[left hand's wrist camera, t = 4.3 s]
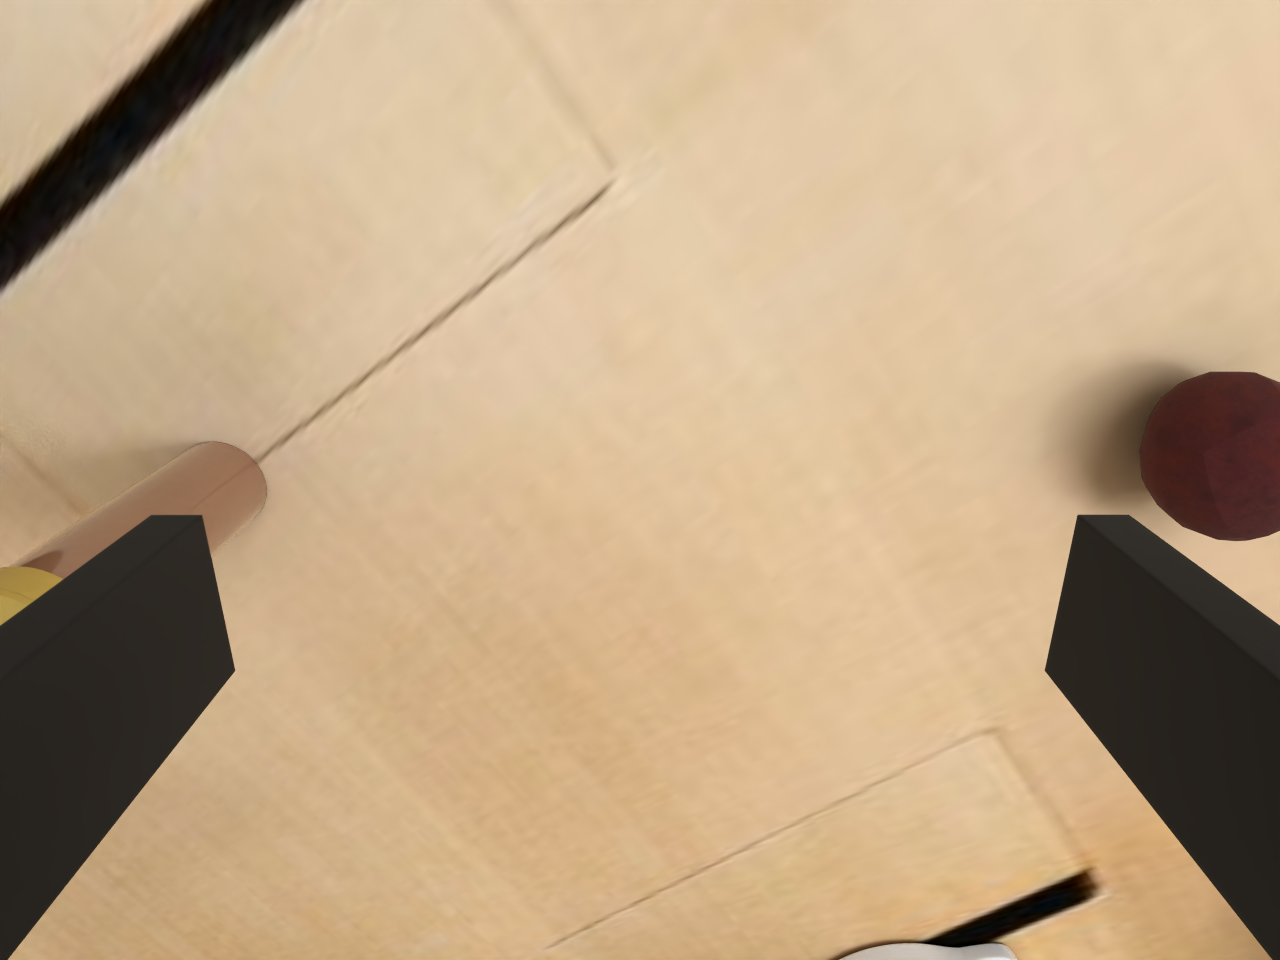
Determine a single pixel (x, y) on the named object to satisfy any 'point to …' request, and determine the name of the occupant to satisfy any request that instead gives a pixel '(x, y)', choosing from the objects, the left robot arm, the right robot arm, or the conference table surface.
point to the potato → (1217, 455)
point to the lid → (22, 588)
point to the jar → (165, 506)
